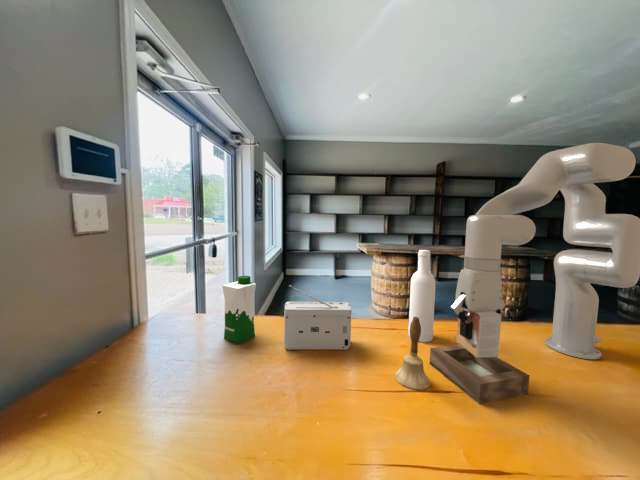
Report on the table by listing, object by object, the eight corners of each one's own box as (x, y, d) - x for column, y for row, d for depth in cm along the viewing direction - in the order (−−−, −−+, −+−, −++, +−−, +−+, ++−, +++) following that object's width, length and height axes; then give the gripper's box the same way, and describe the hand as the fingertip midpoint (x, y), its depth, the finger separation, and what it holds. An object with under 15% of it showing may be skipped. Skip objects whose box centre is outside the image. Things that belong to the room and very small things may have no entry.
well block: (470, 357, 74) (471, 342, 73) (528, 394, 58) (529, 375, 58) (429, 363, 70) (430, 348, 70) (479, 404, 55) (480, 384, 54)
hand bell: (428, 373, 66) (431, 313, 65) (431, 393, 58) (435, 326, 57) (395, 367, 68) (397, 309, 67) (394, 385, 60) (396, 320, 59)
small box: (455, 342, 67) (458, 303, 67) (475, 341, 68) (477, 303, 67) (476, 358, 59) (479, 314, 59) (498, 357, 60) (502, 314, 59)
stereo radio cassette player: (348, 339, 84) (349, 280, 83) (352, 352, 76) (354, 286, 74) (285, 339, 83) (285, 279, 82) (282, 352, 75) (282, 286, 74)
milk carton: (258, 335, 86) (258, 277, 84) (237, 346, 78) (237, 282, 77) (241, 329, 90) (240, 274, 89) (219, 339, 83) (218, 278, 81)
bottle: (435, 343, 82) (440, 252, 80) (409, 341, 84) (413, 251, 81) (429, 333, 90) (434, 249, 88) (406, 331, 91) (410, 248, 89)
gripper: (495, 262, 68) (490, 327, 69) (440, 263, 64) (437, 332, 65) (523, 267, 61) (518, 339, 62) (464, 268, 56) (460, 346, 58)
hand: (476, 335), depth 63 cm, fingers closed on small box, 6 cm apart
